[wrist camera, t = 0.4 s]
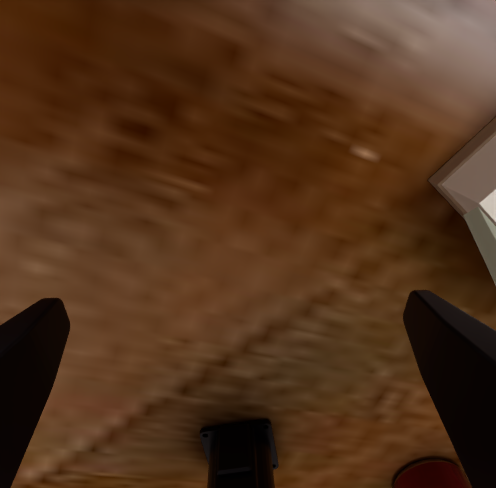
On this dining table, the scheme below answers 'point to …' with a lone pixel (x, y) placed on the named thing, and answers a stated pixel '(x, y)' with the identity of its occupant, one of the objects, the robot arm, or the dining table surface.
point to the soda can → (432, 475)
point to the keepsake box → (471, 175)
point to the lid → (483, 237)
